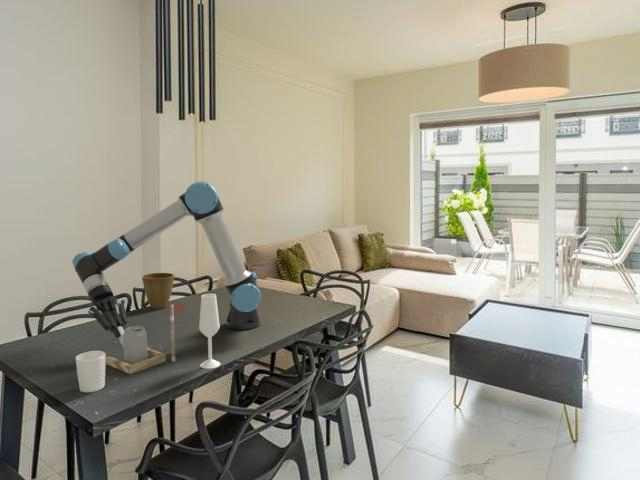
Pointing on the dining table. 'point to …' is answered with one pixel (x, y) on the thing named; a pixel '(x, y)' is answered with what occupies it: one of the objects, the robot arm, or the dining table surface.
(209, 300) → the champagne flute
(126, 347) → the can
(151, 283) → the plant pot
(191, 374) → the dining table surface
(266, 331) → the dining table surface
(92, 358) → the white cup
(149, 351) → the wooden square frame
